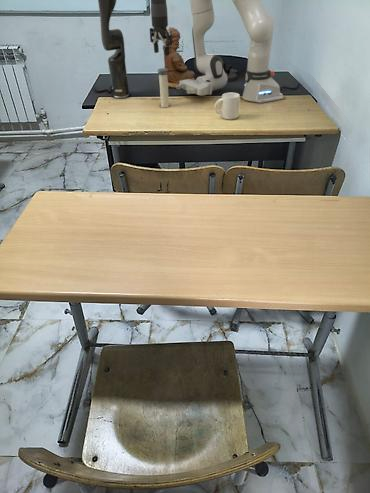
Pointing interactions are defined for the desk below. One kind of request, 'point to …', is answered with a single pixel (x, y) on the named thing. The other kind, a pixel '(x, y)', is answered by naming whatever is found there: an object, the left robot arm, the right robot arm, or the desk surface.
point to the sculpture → (175, 62)
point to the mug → (229, 105)
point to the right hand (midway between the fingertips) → (182, 89)
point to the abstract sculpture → (229, 72)
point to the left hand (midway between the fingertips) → (161, 53)
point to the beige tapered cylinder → (164, 90)
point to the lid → (163, 71)
